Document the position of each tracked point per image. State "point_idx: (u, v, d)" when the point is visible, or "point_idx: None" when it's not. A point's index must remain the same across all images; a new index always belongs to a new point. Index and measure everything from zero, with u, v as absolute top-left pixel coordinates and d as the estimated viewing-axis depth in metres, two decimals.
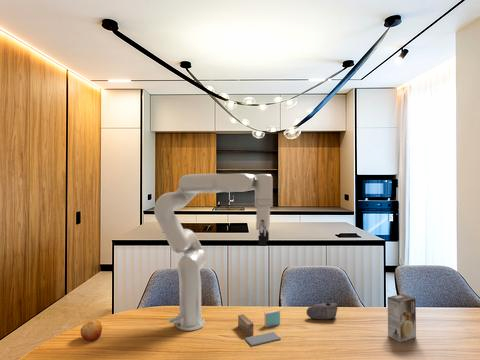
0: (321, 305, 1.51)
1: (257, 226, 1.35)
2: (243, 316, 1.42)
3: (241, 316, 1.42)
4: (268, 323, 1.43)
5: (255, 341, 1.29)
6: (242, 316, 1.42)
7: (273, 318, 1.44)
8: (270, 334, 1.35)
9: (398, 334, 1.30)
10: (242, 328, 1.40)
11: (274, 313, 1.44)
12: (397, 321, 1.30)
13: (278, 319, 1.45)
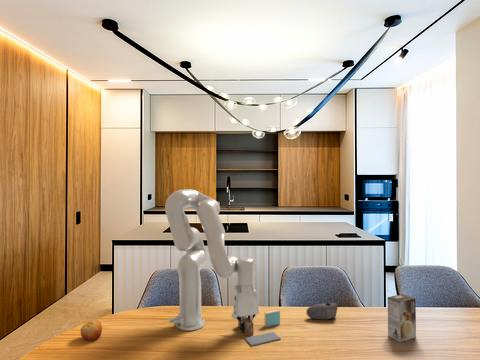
0: (321, 305, 1.51)
1: None
2: None
3: None
4: (268, 323, 1.43)
5: (255, 341, 1.29)
6: None
7: (273, 318, 1.44)
8: (270, 334, 1.35)
9: (398, 334, 1.30)
10: None
11: (274, 313, 1.44)
12: (397, 321, 1.30)
13: (278, 319, 1.45)
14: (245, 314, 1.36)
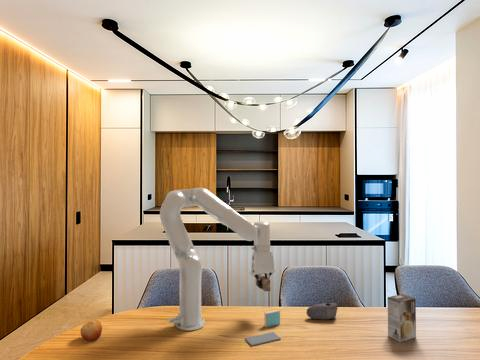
0: (321, 305, 1.51)
1: None
2: None
3: None
4: (268, 323, 1.43)
5: (255, 341, 1.29)
6: None
7: (273, 318, 1.44)
8: (270, 334, 1.35)
9: (398, 334, 1.30)
10: None
11: (274, 313, 1.44)
12: (397, 321, 1.30)
13: (278, 319, 1.45)
14: (262, 272, 1.51)
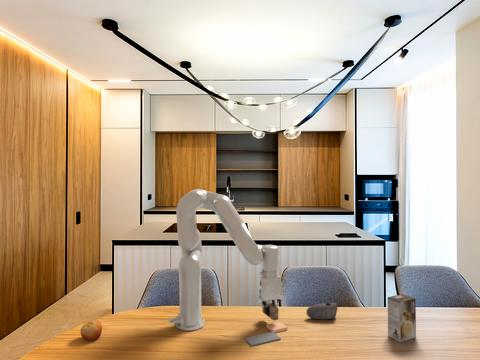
0: (321, 305, 1.51)
1: None
2: None
3: None
4: None
5: (255, 341, 1.29)
6: None
7: None
8: (270, 334, 1.35)
9: (398, 334, 1.30)
10: None
11: None
12: (397, 321, 1.30)
13: None
14: (270, 299, 1.43)
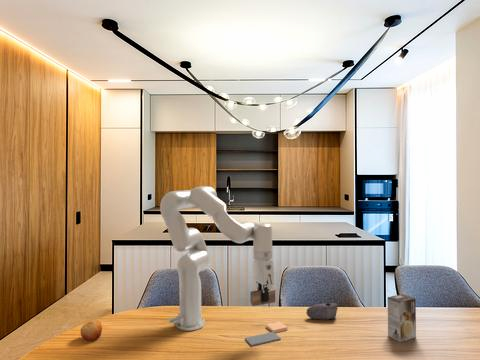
0: (321, 305, 1.51)
1: None
2: (256, 291, 1.31)
3: (256, 292, 1.30)
4: None
5: (255, 341, 1.29)
6: (256, 291, 1.30)
7: None
8: (270, 334, 1.35)
9: (398, 334, 1.30)
10: None
11: None
12: (397, 321, 1.30)
13: None
14: None
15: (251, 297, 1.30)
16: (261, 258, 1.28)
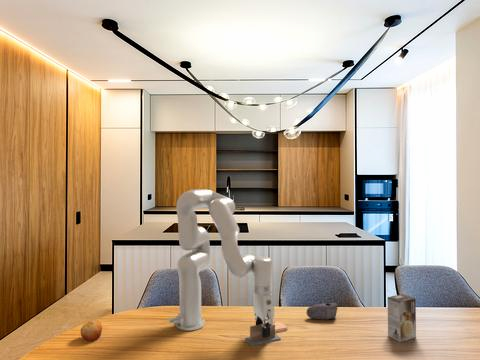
0: (321, 305, 1.51)
1: None
2: (256, 326, 1.31)
3: (256, 327, 1.30)
4: None
5: (255, 341, 1.29)
6: (256, 327, 1.30)
7: None
8: None
9: (398, 334, 1.30)
10: None
11: None
12: (397, 321, 1.30)
13: None
14: None
15: (251, 332, 1.30)
16: (261, 293, 1.28)
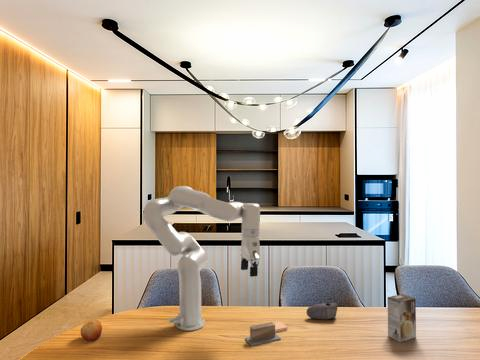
0: (321, 305, 1.51)
1: None
2: (256, 326, 1.31)
3: (256, 327, 1.30)
4: None
5: (255, 341, 1.29)
6: (256, 327, 1.30)
7: None
8: None
9: (398, 334, 1.30)
10: (263, 336, 1.30)
11: None
12: (397, 321, 1.30)
13: None
14: None
15: (251, 332, 1.30)
16: (248, 235, 1.35)
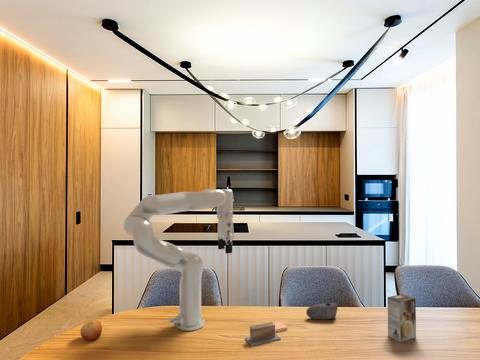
0: (321, 305, 1.51)
1: None
2: (256, 326, 1.31)
3: (256, 327, 1.30)
4: None
5: (255, 341, 1.29)
6: (256, 327, 1.30)
7: None
8: None
9: (398, 334, 1.30)
10: (263, 336, 1.30)
11: None
12: (397, 321, 1.30)
13: None
14: None
15: (251, 332, 1.30)
16: (222, 217, 1.52)
